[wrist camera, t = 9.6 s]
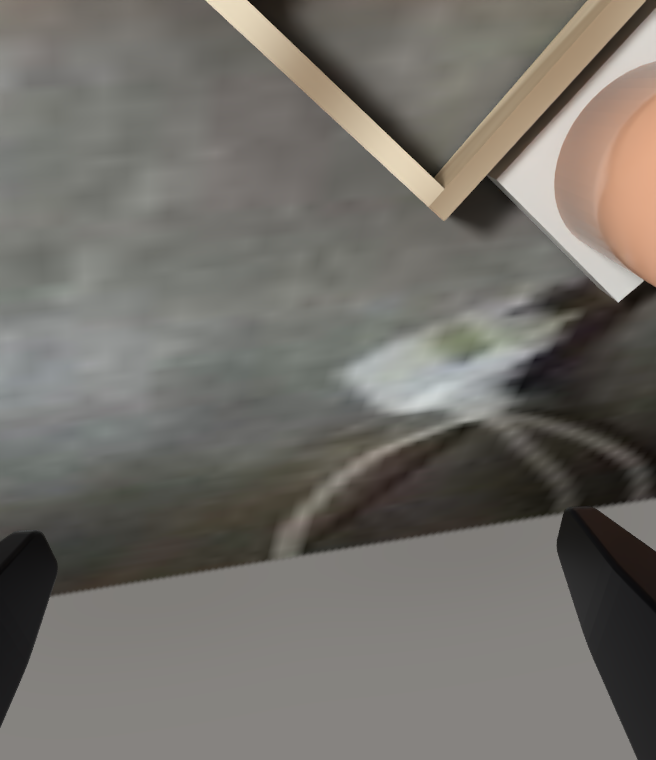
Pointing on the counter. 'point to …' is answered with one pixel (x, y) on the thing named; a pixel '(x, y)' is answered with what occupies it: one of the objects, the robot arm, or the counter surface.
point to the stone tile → (546, 136)
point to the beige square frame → (490, 139)
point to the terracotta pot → (614, 173)
